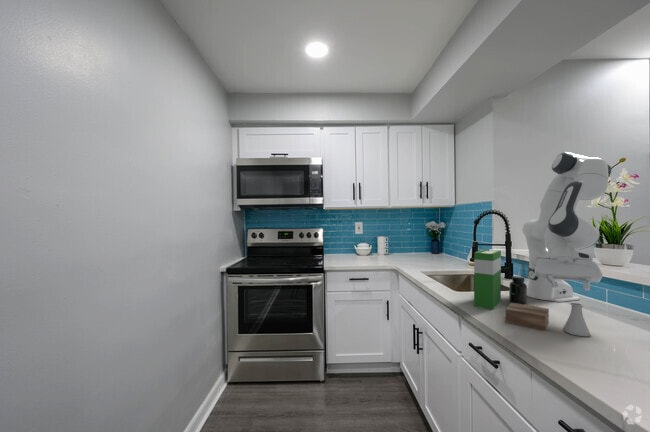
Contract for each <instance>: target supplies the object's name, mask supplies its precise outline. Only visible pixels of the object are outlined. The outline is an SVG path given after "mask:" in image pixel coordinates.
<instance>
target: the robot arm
mask: <svg viewBox="0 0 650 432" xmlns="http://www.w3.org/2000/svg"><path fill="white" fill-rule="evenodd" d="M610 169H611V170H610ZM551 170H552V171H553V172H554V173H556V175H555V176H554V177H553V179H552V180H551V182H550V184H549V185H548V187H547V189H546V191H545V193H544V195H543V197H542V199H541V202H540V203H539V207H540V214H539V218H536V219H535V218H534V219H531V220H529V221H526V222H525V223H524V224H523V226H522V233H523V235H524V236H525V241H526V244H527V248H528V263H529V264H528V269H527V274H528V275H527V276H528V279H527V280H528V281H527V297H529V298H533V299H538V300H542V301H543V300H544V301H550V302H557V303H561V302H563V303H564V302H571V301H579V300H580V297H579V296H578V295H574V289H573V287H572V285H570V284H569V283H568V282H567V281H573V282H575V281H576V282H584V283H585V284H583V285H582V289H583V291H587V292H590V290H591V286H590V285H591V283H600V282H601V280H602V278H603V273H602V271H601V269H600V267H599V264H598V263H596V262H595V261H593V260H594V257H593V255H592V254H589V253H584V252H581V250H585V249H589V248H590V247H591V248H592V247H593V246H594V245H596V244H597V243H598V241H599V240H600V237H601V232H600V230H599V229H598V228H596V227H595V226H594V225H593V224H591V223H589V222H587V221H586V220H584V219H583V218H581V217H580V216H579V215H578V213H576V207H577V205H578V203H579V200H581V201H591V200H596V199H598V198H600V197H602V196H603V195H604V194H605V193H606V191H607V189H608V184H609V177H610V176H611V174H612V166H611V165H609V164H608V162H607V161H606V160H604V159H602V158H600V157H589V156H585V155H581V154H576V153H573V152H569V151H568V152H567V151H564V152H561V153H559V154H558V155H557V156H555V158H554V160H553V161H552V164H551ZM609 170H610V171H609ZM608 172H609V173H608Z"/></svg>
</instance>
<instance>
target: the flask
mask: <svg viewBox="0 0 650 432" xmlns="http://www.w3.org/2000/svg"><path fill="white" fill-rule="evenodd" d="M570 305H571V310H570V314H569V317H568V318H567V321H565V324H564V325H563V327H562V329H563V331H564V332H566V333H567V334H570V335H573V336H578V337H592V334H591V333H590V332H591V331H590V330H589V328H588V325H587V323H586V321H585V318H584V316H583V315H584V314H583V307H584V305H583V304H582V303H577V302H570Z"/></svg>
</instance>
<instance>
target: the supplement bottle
mask: <svg viewBox="0 0 650 432" xmlns="http://www.w3.org/2000/svg"><path fill="white" fill-rule="evenodd" d="M508 284H509V290H508V291H509V292H508V293H509V295H508V300H509V302H510V304H511V303H518V304H524V305H527V300H528V299H527V297H528V296H527V286H528V284H527V283H526V282H525V277H523V276H518V275H513V276H511V282H509V283H508Z"/></svg>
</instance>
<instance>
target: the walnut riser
mask: <svg viewBox="0 0 650 432" xmlns="http://www.w3.org/2000/svg"><path fill="white" fill-rule="evenodd" d="M549 310H550V309H549V308H546V307H542V306H541V307H540V306H534V305H530V304H529V305H528V304H518V303H511V302H510V303H509V305H508V306H507V307H506V308H505V323H506V324H507V323H508V324H512V325H515V326H521V327H524V328H525V327H526V328H529V329H535V330H539V331H543V332H544V331H546V330H547V327H548V325H549V321H550V319H549V318H550V317H549V316H550V315H549V312H550V311H549Z"/></svg>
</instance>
